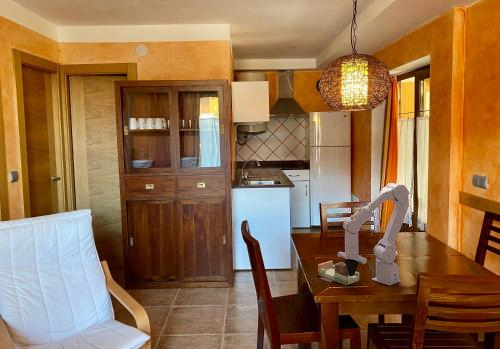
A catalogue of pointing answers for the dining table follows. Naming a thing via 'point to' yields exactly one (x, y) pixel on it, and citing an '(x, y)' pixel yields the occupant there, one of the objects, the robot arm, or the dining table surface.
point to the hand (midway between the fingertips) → (352, 275)
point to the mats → (326, 279)
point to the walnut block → (341, 269)
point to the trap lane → (329, 272)
